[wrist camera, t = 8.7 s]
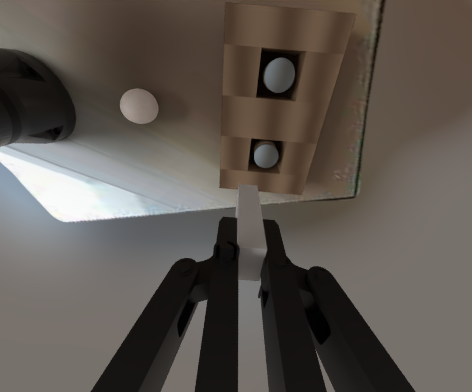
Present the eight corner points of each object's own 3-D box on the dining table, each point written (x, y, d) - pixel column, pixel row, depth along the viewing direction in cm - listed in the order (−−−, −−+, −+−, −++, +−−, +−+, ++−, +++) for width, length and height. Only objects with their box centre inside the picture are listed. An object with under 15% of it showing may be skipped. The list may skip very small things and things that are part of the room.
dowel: (252, 155, 39) (252, 167, 34) (254, 135, 37) (255, 143, 32) (272, 157, 39) (275, 168, 34) (276, 137, 37) (280, 146, 32)
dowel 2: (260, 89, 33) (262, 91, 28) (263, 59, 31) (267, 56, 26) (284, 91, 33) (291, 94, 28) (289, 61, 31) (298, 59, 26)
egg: (162, 123, 37) (144, 133, 30) (134, 114, 36) (110, 122, 30) (165, 93, 34) (146, 97, 28) (135, 82, 33) (108, 84, 27)
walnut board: (222, 174, 42) (219, 187, 37) (229, 15, 28) (225, 2, 23) (294, 180, 42) (301, 194, 37) (336, 25, 28) (356, 13, 23)
